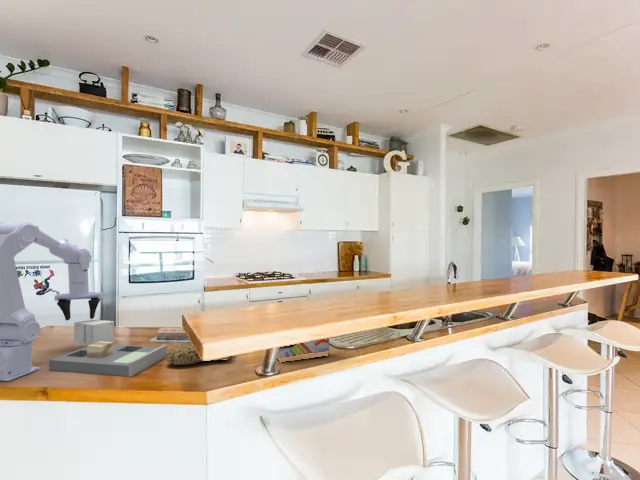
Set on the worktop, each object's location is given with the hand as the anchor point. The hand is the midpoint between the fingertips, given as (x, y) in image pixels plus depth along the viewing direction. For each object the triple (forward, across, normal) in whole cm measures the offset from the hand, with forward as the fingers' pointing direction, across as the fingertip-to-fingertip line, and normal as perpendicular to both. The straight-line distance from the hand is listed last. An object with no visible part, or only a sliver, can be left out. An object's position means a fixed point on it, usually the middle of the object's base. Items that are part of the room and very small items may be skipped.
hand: (80, 318), depth 125 cm
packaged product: (+13, -32, -4) cm, 35 cm away
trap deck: (+10, -15, +19) cm, 27 cm away
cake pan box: (+11, -76, +28) cm, 82 cm away
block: (+6, -12, +20) cm, 24 cm away
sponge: (+10, -43, +24) cm, 50 cm away
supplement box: (+5, -1, -1) cm, 5 cm away
